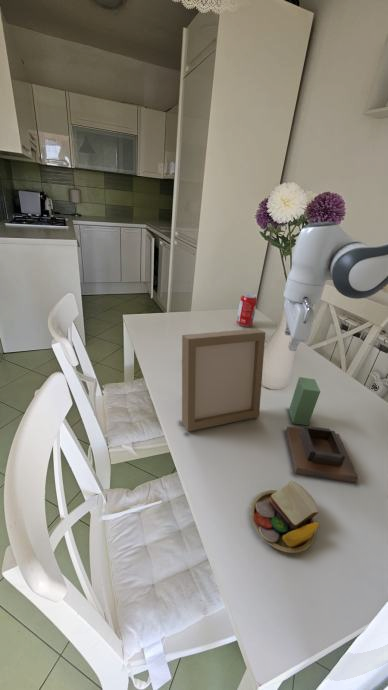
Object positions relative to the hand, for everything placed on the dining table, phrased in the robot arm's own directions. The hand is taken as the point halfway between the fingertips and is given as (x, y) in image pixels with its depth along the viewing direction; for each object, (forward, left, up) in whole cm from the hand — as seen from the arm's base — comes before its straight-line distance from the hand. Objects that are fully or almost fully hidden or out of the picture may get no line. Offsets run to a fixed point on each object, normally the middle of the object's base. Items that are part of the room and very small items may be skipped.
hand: (289, 341), depth 81 cm
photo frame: (+17, +4, -23) cm, 29 cm away
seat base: (-10, +16, -23) cm, 30 cm away
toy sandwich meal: (+2, +35, -23) cm, 42 cm away
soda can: (+5, -64, -23) cm, 68 cm away
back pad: (-8, +2, -23) cm, 24 cm away
